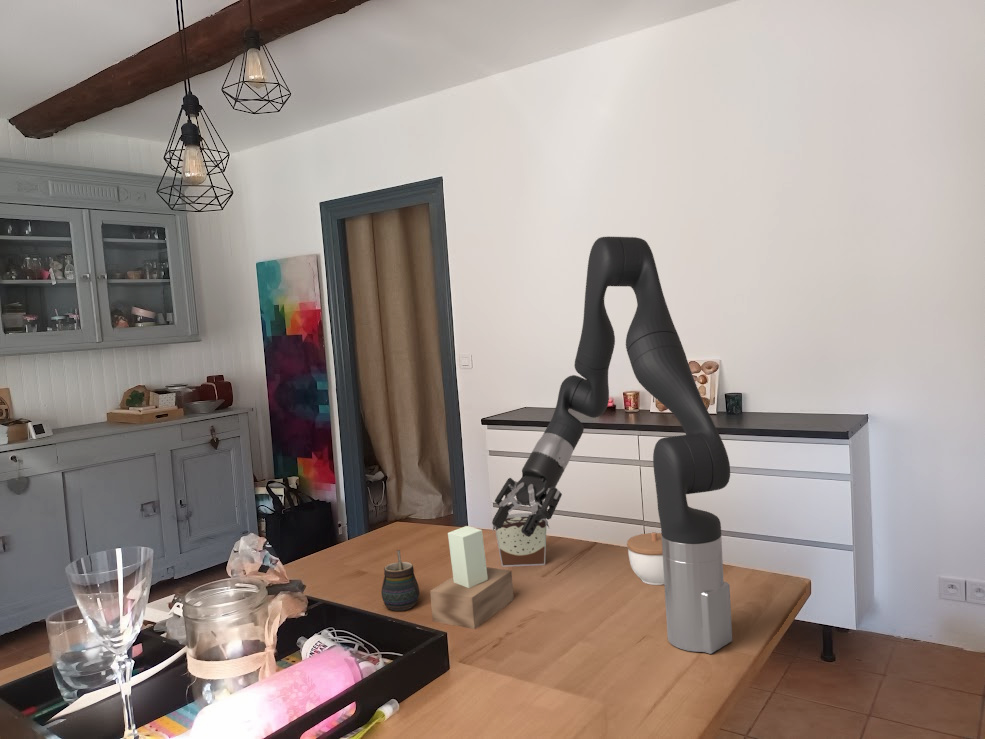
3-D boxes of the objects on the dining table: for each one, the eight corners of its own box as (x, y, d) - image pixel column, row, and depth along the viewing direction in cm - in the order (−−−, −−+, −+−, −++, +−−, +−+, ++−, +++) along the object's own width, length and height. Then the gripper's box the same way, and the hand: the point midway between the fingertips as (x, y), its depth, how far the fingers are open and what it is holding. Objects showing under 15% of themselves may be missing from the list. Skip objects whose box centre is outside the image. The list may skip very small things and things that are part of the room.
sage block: (487, 579, 136) (482, 530, 135) (469, 588, 133) (462, 537, 132) (472, 574, 140) (466, 525, 139) (453, 582, 137) (447, 532, 136)
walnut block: (513, 601, 141) (511, 570, 141) (474, 630, 129) (471, 597, 129) (474, 594, 146) (471, 565, 146) (432, 622, 134) (430, 590, 134)
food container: (552, 555, 165) (549, 511, 164) (552, 564, 159) (548, 519, 158) (497, 557, 166) (494, 513, 165) (495, 566, 160) (491, 521, 159)
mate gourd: (385, 617, 137) (380, 565, 137) (380, 602, 145) (375, 553, 144) (423, 610, 139) (419, 558, 139) (416, 596, 147) (412, 547, 146)
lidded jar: (671, 593, 138) (668, 544, 138) (619, 584, 145) (616, 537, 144) (693, 574, 147) (690, 528, 146) (643, 566, 153) (641, 522, 153)
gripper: (513, 447, 153) (475, 514, 147) (563, 453, 142) (524, 526, 136) (534, 467, 157) (497, 533, 150) (584, 475, 146) (546, 547, 140)
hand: (510, 530), depth 143 cm, fingers open, 8 cm apart
